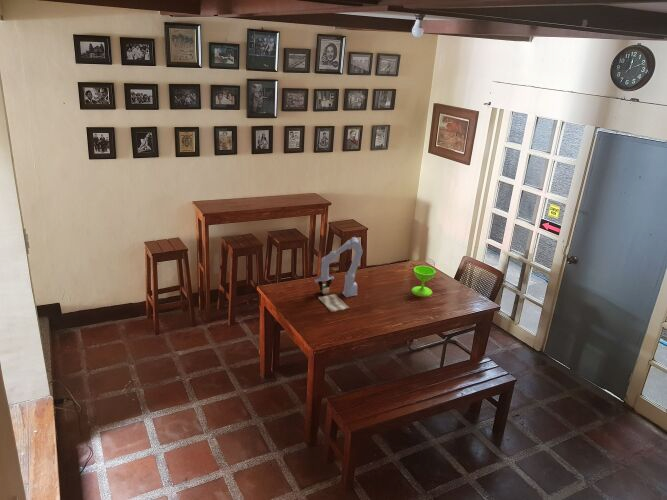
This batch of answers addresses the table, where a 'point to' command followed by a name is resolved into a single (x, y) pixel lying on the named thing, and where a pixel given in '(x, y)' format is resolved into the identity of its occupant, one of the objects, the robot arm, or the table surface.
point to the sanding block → (324, 289)
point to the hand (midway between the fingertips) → (324, 289)
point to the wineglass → (423, 280)
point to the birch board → (333, 303)
